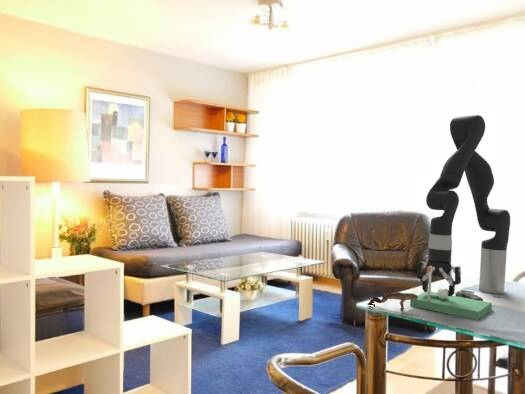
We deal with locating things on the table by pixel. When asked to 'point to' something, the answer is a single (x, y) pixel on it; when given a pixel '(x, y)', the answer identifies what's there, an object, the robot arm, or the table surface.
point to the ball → (443, 293)
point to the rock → (467, 295)
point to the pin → (429, 269)
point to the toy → (394, 295)
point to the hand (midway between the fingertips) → (437, 293)
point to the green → (453, 305)
